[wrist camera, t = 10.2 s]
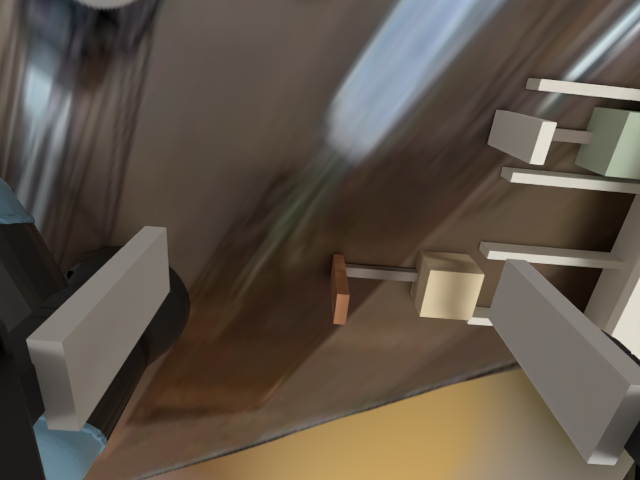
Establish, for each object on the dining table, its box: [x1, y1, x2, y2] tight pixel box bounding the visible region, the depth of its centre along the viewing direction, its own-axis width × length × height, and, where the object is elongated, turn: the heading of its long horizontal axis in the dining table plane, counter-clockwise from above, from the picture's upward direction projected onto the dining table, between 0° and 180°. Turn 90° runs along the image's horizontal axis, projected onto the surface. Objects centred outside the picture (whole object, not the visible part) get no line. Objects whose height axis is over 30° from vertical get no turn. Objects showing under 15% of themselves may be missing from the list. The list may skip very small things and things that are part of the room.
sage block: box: [487, 107, 640, 179], centre depth 37 cm, size 16×6×9 cm, turn 84°
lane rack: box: [466, 78, 640, 359], centre depth 40 cm, size 17×28×11 cm, turn 174°
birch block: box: [330, 250, 485, 324], centre depth 44 cm, size 16×6×9 cm, turn 85°
